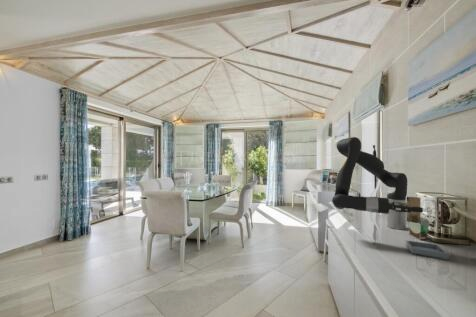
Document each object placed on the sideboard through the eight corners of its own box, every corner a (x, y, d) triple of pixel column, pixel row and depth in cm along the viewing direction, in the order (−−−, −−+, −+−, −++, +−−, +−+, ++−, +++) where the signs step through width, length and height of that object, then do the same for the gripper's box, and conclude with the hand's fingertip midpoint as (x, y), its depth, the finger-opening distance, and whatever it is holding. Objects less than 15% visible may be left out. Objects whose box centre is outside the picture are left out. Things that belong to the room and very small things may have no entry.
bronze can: (405, 219, 104) (405, 196, 104) (418, 221, 102) (418, 197, 102) (407, 221, 100) (407, 197, 100) (421, 223, 97) (421, 198, 98)
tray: (405, 245, 103) (405, 240, 103) (438, 250, 97) (437, 244, 97) (411, 254, 92) (411, 248, 92) (448, 260, 87) (448, 253, 87)
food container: (436, 242, 108) (435, 221, 108) (421, 241, 109) (421, 221, 109) (420, 234, 120) (420, 216, 120) (407, 233, 121) (407, 215, 121)
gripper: (378, 199, 101) (425, 202, 93) (375, 195, 114) (416, 198, 106) (378, 215, 101) (425, 220, 93) (375, 210, 114) (417, 214, 106)
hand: (420, 208), depth 100 cm, fingers closed on bronze can, 5 cm apart
